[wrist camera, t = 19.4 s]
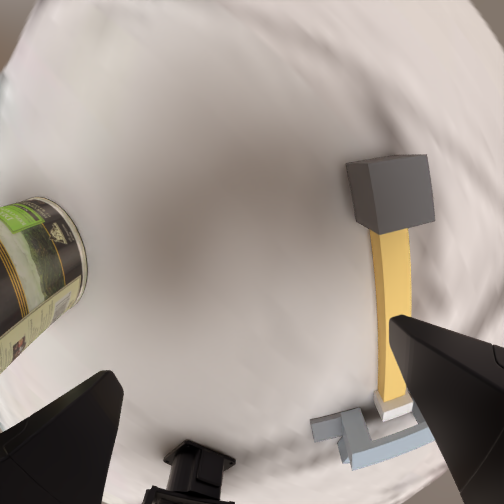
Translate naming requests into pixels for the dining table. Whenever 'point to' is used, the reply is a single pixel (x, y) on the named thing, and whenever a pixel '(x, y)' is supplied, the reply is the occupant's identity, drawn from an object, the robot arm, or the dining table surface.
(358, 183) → the yellow handled hammer
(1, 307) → the coffee can
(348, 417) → the blue-grey bracket
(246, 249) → the dining table surface
